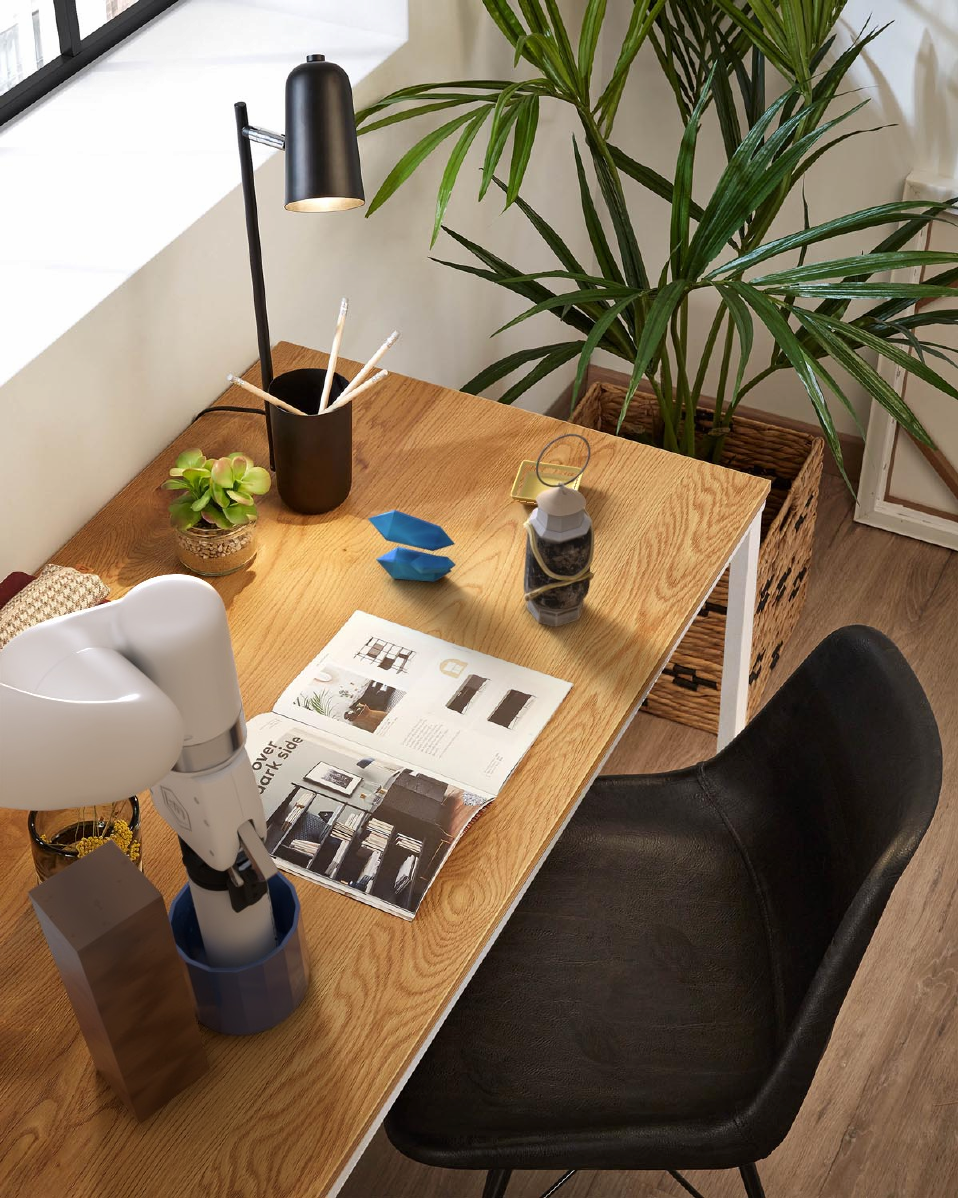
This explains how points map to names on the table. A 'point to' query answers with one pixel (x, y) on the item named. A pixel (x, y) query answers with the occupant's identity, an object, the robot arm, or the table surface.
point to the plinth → (122, 977)
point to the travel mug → (228, 916)
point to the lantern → (558, 552)
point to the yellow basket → (535, 487)
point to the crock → (245, 968)
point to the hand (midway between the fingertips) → (225, 874)
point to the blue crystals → (417, 535)
